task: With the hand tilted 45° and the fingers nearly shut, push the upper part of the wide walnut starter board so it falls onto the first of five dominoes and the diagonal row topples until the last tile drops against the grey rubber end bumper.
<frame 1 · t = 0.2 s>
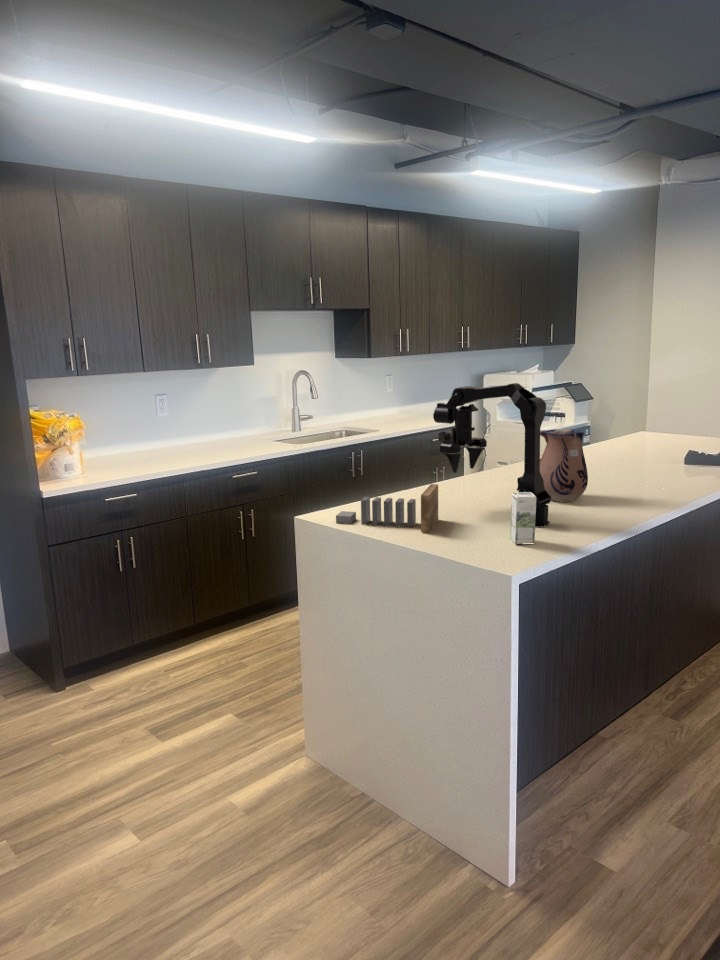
hand: (463, 470, 235), 14 cm above the countertop, tool pointing down, fingers open, 9 cm apart
domino 1: (411, 525, 223), on the countertop
domino 4: (377, 523, 226), on the countertop
end bumper: (346, 521, 229), on the countertop
syrup box: (522, 542, 202), on the countertop
domino 3: (388, 523, 225), on the countertop
starter board: (429, 526, 221), on the countertop
domino 2: (399, 524, 224), on the countertop
ceramic pitcher: (556, 499, 252), on the countertop
domino 5: (365, 522, 227), on the countertop
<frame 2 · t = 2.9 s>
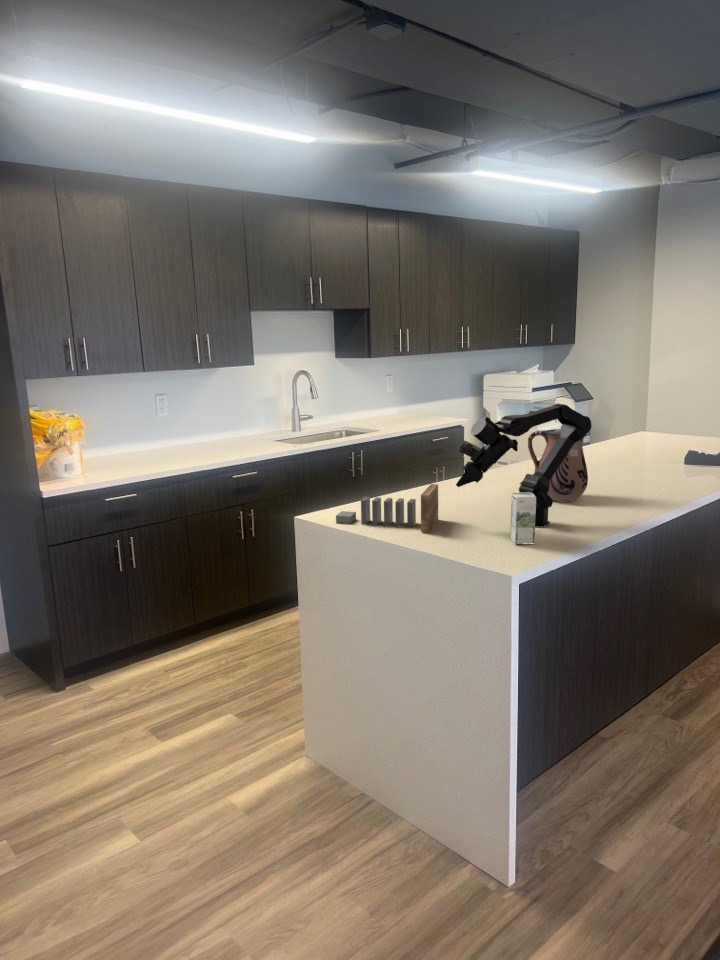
hand: (457, 485, 216), 14 cm above the countertop, tool tilted 45°, fingers closed
nothing on the countertop moved.
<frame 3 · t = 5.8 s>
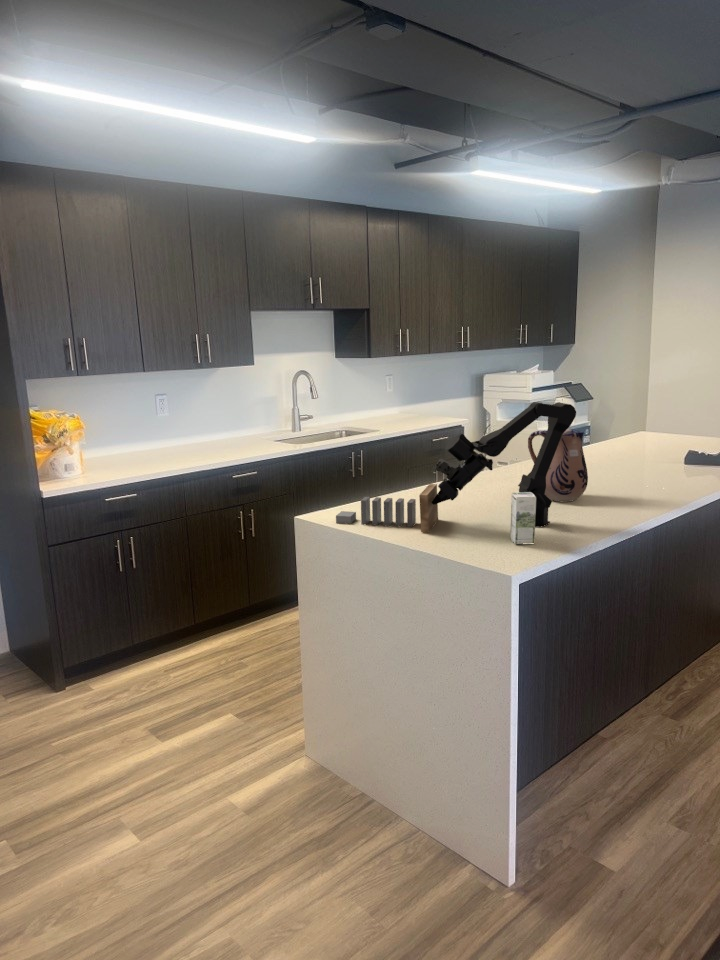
hand: (433, 502, 219), 8 cm above the countertop, tool tilted 45°, fingers closed
starter board: (429, 526, 221), on the countertop, touching gripper
everything else where it was.
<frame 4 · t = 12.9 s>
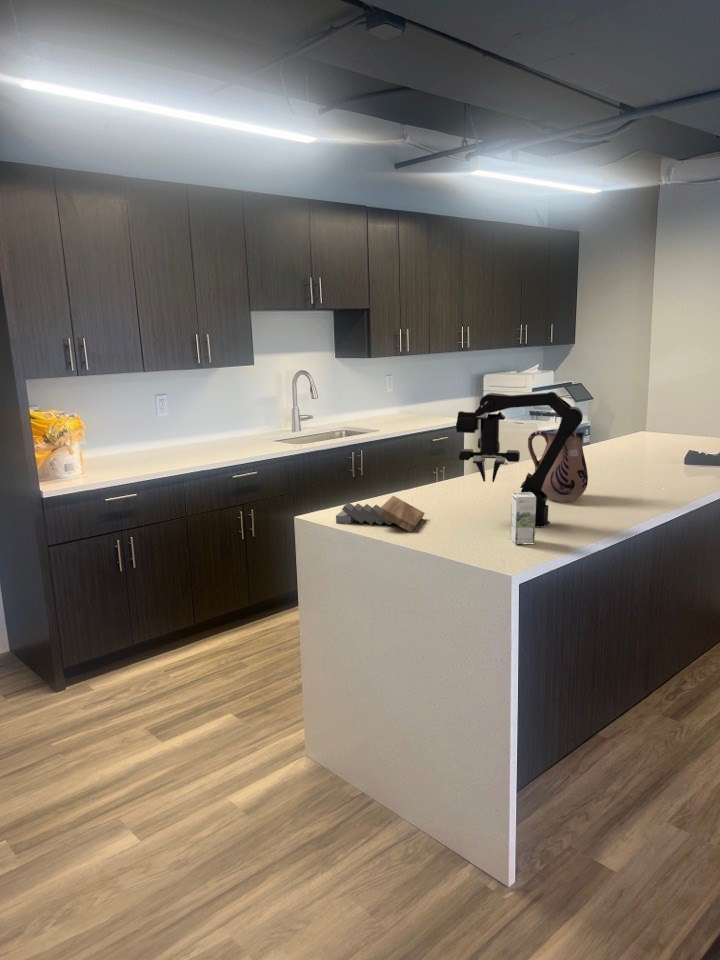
hand: (488, 481, 223), 13 cm above the countertop, tool pointing down, fingers closed
domino 1: (404, 522, 223), point 1 cm above the countertop, tilted 61°, touching domino 2, starter board
domino 4: (374, 520, 226), point 1 cm above the countertop, tilted 58°, touching domino 3, domino 5
domino 3: (383, 521, 225), point 1 cm above the countertop, tilted 58°, touching domino 2, domino 4
starter board: (418, 522, 222), point 1 cm above the countertop, tilted 63°, touching domino 1
domino 2: (393, 521, 224), point 1 cm above the countertop, tilted 58°, touching domino 1, domino 3
domino 5: (365, 519, 227), point 1 cm above the countertop, tilted 58°, touching domino 4, end bumper
everything else where it was.
at the end: domino 5 tilted 58°; starter board tilted 63° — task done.
